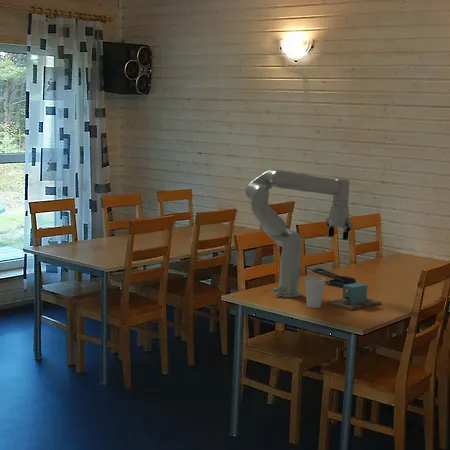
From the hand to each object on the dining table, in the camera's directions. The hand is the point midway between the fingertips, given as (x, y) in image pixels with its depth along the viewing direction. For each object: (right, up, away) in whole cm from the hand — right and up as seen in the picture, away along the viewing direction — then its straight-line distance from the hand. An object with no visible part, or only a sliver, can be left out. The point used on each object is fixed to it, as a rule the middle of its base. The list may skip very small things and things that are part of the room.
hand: (338, 238), depth 353 cm
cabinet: (+5, -30, -18) cm, 35 cm away
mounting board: (+5, -31, -18) cm, 36 cm away
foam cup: (-15, -31, -23) cm, 42 cm away
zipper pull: (+1, -25, +22) cm, 34 cm away
